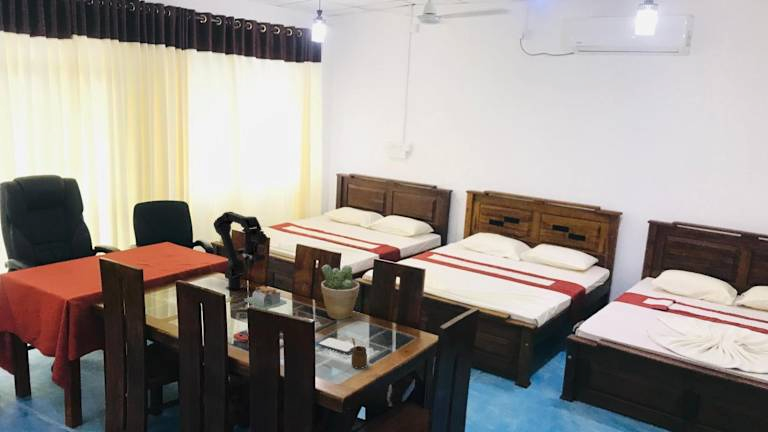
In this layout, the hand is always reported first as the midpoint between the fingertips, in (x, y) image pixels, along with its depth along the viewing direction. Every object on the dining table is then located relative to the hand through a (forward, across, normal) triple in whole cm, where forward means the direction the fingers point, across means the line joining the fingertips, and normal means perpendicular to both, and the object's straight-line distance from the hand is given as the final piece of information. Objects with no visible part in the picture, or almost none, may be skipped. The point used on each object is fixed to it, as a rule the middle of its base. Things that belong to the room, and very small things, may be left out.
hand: (250, 270), depth 297 cm
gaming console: (+14, -46, +28) cm, 55 cm away
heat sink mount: (+13, -15, +2) cm, 20 cm away
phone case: (+14, -80, +15) cm, 82 cm away
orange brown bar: (+7, -16, +2) cm, 18 cm away
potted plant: (+13, -54, -12) cm, 57 cm away
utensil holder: (+13, -98, +22) cm, 101 cm away
